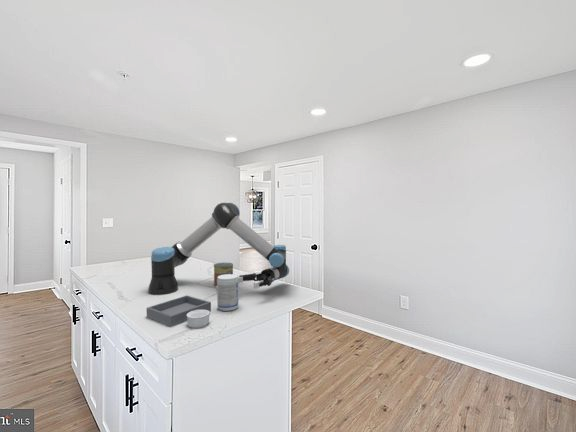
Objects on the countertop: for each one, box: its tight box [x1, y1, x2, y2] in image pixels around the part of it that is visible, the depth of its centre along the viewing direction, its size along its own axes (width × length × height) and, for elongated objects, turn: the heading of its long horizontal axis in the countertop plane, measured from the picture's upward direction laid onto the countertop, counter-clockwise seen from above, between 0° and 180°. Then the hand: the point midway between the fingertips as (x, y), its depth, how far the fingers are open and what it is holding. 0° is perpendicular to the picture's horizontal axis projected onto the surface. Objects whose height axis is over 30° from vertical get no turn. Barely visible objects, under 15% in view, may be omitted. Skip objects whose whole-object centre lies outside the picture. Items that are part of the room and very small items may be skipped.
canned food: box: [213, 262, 234, 287], centre depth 169 cm, size 11×11×12 cm
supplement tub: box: [216, 273, 239, 312], centre depth 129 cm, size 10×10×15 cm
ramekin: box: [187, 310, 211, 329], centre depth 112 cm, size 9×9×4 cm
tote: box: [146, 295, 212, 327], centre depth 122 cm, size 17×20×4 cm
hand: (243, 284), depth 138 cm, fingers open, 13 cm apart
